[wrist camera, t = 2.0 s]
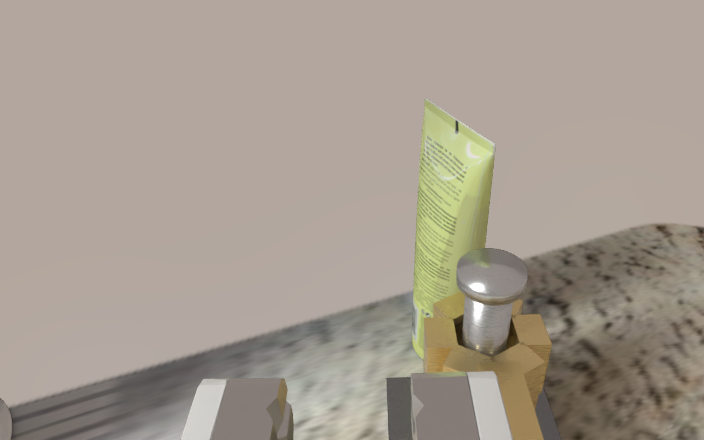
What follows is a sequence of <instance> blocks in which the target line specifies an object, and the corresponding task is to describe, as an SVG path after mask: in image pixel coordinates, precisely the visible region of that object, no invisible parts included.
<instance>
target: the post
mask: <svg viewBox="0 0 704 440" xmlns="http://www.w3.org/2000/svg"><path fill="white" fill-rule="evenodd" d="M527 279H528V269H527V267H526V265H525V264H524V262H523V261H522V260H521V259H520V258H518V257H517V256H515V255H513V254H511V253H509V252H507V251H504V250H499V249H493V248H483V249H476V250H473V251H470V252H468V253H466V254H465V255H463V256H462V257H461V258H460V259H459V261H458V264H457V273H456V283H457V286H458V288H459V290H460V291H461V292H462V293H463V294H464V295H465V304H464V318H463V332H462V346H463V347H465V348H468V349H471V350H473V351H476V352H479V353H481V354H484V355H487V356H489V357H492V358H493V357H494V356H496V355H498V354H500V353H502V352H504V351H506V348H507V341H508V335H509V328H510V321H511V314H512V307H513V302H515V301H517V300H518V299H520V298H521V297H522V296H523V294H524V293H525V290H526V285H527ZM411 401H412V396H411V377H402V378H387V405H388V431H389V440H413V437H412V419H411ZM535 413H536V416H537V419H538V422H539V426H540V429H541V432H542V435H543V439H544V440H561V437H560V434H559V432H558V429H557V426H556V423H555V420H554V417H553V414H552V411H551V408H550V405H549V402H548V399H547V396H546V393H545V390H544V387H543V388H542V393H539V395H538V399H537V404H536V409H535Z"/></svg>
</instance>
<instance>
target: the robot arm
mask: <svg viewBox="0 0 704 440" xmlns="http://www.w3.org/2000/svg"><path fill="white" fill-rule="evenodd" d="M411 396H412V401H411V419H412V437H413V440H513V436H512V432H511V428H510V424H509V420H508V417H507V413H506V409H505V405H504V401H503V397H502V393H501V390H500V386H499V382H498V378H497V376H496V374H495V373H494V371H483V372H466V373H465V372H464V371H462V372H438V373H415V374H411ZM286 397H287V386H286V382H285V379H284V378H227V379H203V380H202V382H201V383H200V385H199V386H198V388H197V391H196V394H195V397H194V400H193V403H192V406H191V409H190V413H189V416H188V419H187V422H186V425H185V428H184V431H183V434H182V437H181V440H293V426H294V424H293V413H292V408H291V405H290V404H289V403H288V402H286ZM11 434H12V419H11V414H10V411H9V409H8V407H7V405H6V404H5V402H4V401H3V400H2V399H1V398H0V440H10V439H11Z"/></svg>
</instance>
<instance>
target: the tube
mask: <svg viewBox="0 0 704 440" xmlns="http://www.w3.org/2000/svg"><path fill="white" fill-rule="evenodd" d="M495 146H496V145H495V144H494V143H493V142H491V141H490V140H488V139H486V138H485V137H483V136H482V135H480V134H479V133H477V132H476V131H474V130H473V129H471V128H470V127H468V126H467V125H465V124H463V123H462V122H460V121H459V120H457V119H456V118H455V117H453V116H452V115H450V114H449V113H447V112H446V111H444V110H443V109H441V108H440V107H438V106H437V105H436V104H434V103H433V102H431V101H430V100H428V99H427V98H425V109H424V119H423V129H422V141H421V154H420V170H419V187H418V188H419V189H418V203H417V204H418V205H417V223H416V243H415V266H414V290H413V322H412V344H413V347H414V349H415V351H416V353H417V354H418V355H419V356H420V357H421V358H422V359H423V353H424V318H433V303H435V302H438V301H440V300H442V299H444V298H446V297H448V296H451V295H453V294H455V293H457V292H459V291H460V290H459V288H458V286H457V283H456V273H457V264H458V261H459V259H460V258H461V257H462V256H463V255H465V254H466V253H468V252H470V251H473V250H476V249H483V248H485V242H486V232H487V223H488V213H489V204H490V195H491V185H492V176H493V167H494V154H495Z"/></svg>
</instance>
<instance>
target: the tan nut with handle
mask: <svg viewBox="0 0 704 440" xmlns="http://www.w3.org/2000/svg"><path fill="white" fill-rule="evenodd" d="M464 304H465V295H464V294H463V293H462V292H461V291H459V292H457V293H455V294H453V295H451V296H448V297H446V298H444V299H442V300H440V301H438V302H435V303H433V318H424V353H423V366H424V373H438V372H462V371H464V372H465V373H466V372H483V371H494V373H495V374H496V376H497V378H498V382H499V386H500V390H501V393H502V397H503V401H504V405H505V409H506V413H507V417H508V420H509V424H510V428H511V432H512V436H513V440H544V439H543V435H542V432H541V429H540V426H539V422H538V419H537V416H536V413H535V409H536V404H537V399H538V395H539V393H542V388H543V384H544V379H545V374H546V370H547V365H548V360H549V356H550V351H551V347H552V343H551V341H550V338H549V336H548V333H547V330H546V328H545V325H544V323H543V320H542V317H541V315H540V314H526V315H521V312H522V305H523V300H521V299H518V300H517V301H515V302H513V307H512V314H511V321H510V328H509V335H508V341H507V348H506V351H504V352H502V353H500V354H498V355H496V356H494V357H493V358H492V357H489V356H487V355H484V354H481V353H479V352H476V351H473V350H471V349H468V348H465V347H463V346H462V332H463V318H464Z"/></svg>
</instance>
